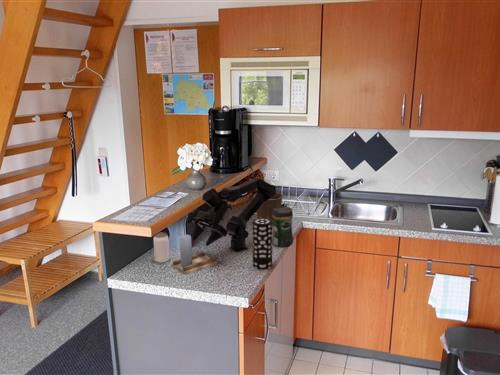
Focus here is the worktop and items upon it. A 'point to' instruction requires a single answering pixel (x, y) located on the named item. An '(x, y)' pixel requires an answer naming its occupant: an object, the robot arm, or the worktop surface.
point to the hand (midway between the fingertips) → (199, 242)
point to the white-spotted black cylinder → (262, 243)
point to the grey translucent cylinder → (185, 250)
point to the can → (161, 248)
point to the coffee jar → (282, 226)
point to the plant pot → (269, 207)
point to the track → (195, 263)
